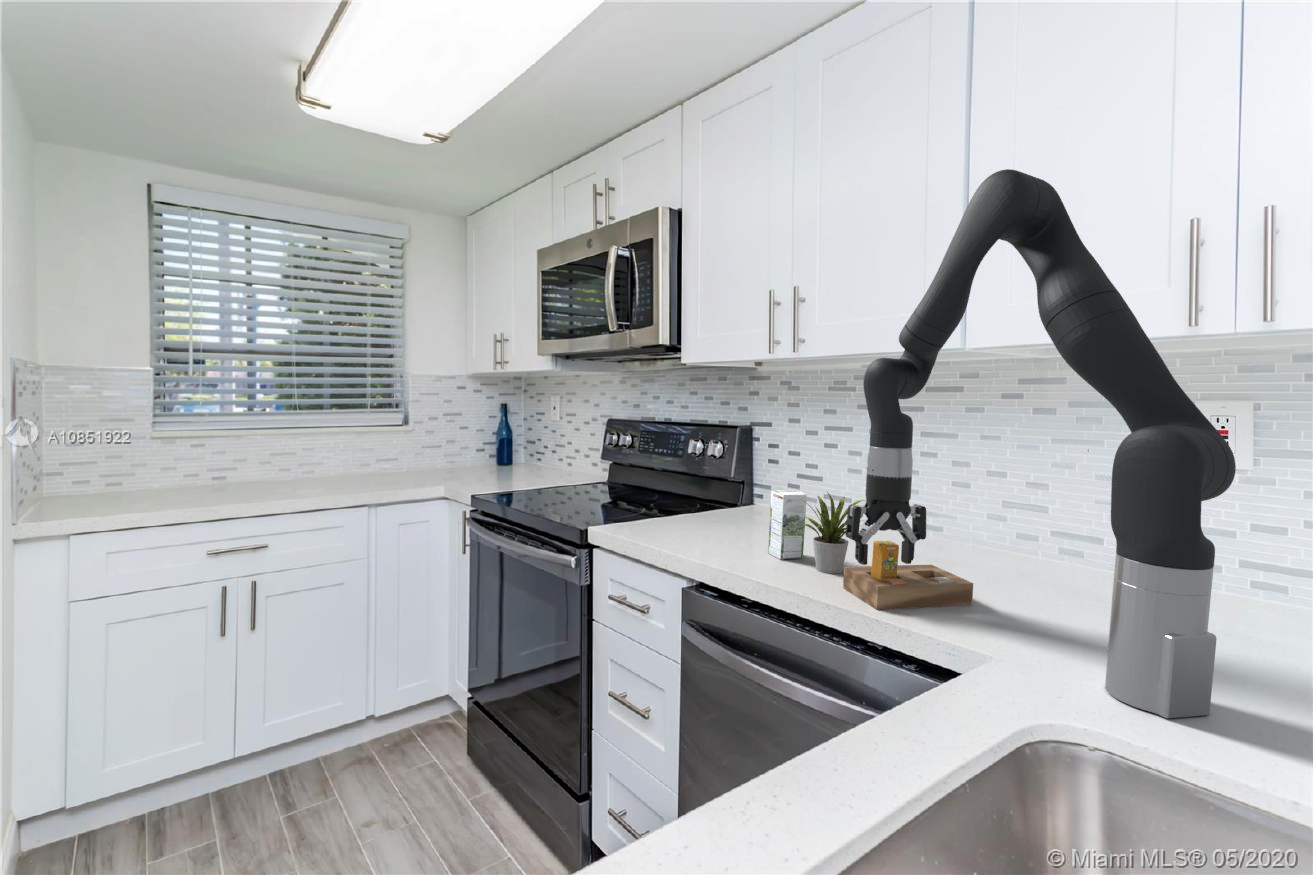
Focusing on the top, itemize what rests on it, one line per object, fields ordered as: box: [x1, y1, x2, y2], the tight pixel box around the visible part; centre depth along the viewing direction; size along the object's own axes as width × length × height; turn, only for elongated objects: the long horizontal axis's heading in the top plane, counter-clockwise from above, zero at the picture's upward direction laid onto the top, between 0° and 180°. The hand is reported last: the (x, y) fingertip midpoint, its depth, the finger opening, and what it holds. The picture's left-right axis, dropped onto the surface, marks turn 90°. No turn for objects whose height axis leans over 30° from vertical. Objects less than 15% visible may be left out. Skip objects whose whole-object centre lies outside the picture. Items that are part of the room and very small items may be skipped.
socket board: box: [842, 564, 974, 611], centre depth 116 cm, size 12×18×4 cm, turn 101°
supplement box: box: [871, 540, 900, 580], centre depth 115 cm, size 3×3×10 cm
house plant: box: [800, 491, 866, 574], centre depth 131 cm, size 14×14×16 cm
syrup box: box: [767, 489, 807, 561], centre depth 142 cm, size 6×6×14 cm
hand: (884, 563), depth 115 cm, fingers open, 8 cm apart
